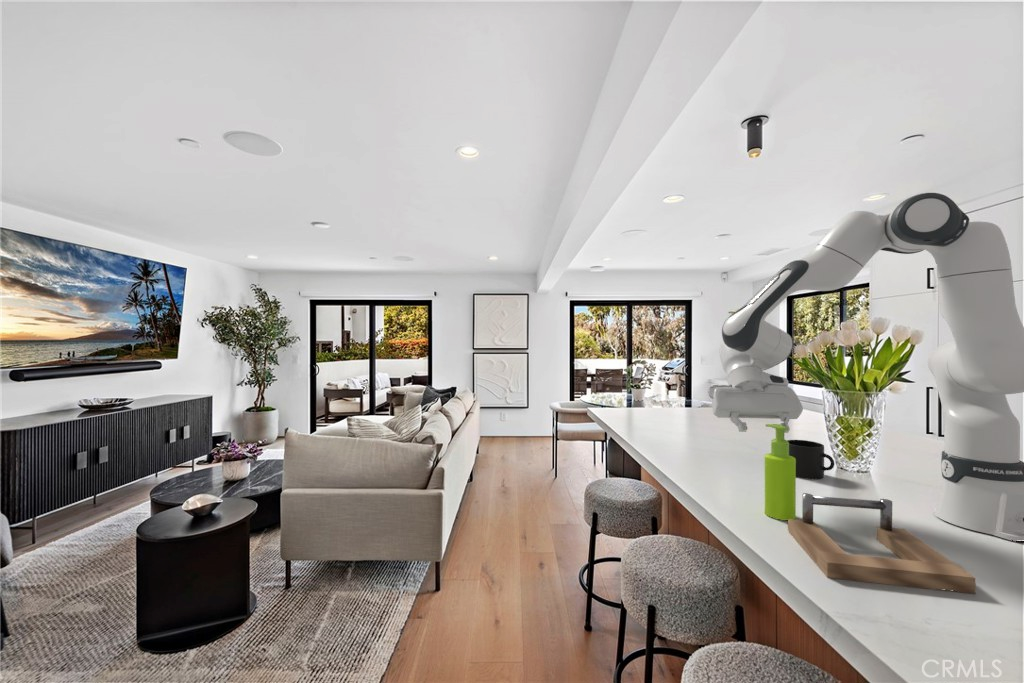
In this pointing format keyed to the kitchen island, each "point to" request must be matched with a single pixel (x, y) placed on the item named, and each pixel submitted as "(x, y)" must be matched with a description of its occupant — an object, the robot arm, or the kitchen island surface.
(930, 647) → the kitchen island surface
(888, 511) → the steel rail
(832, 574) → the walnut board
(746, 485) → the kitchen island surface
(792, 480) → the soap dispenser
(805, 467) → the mug
